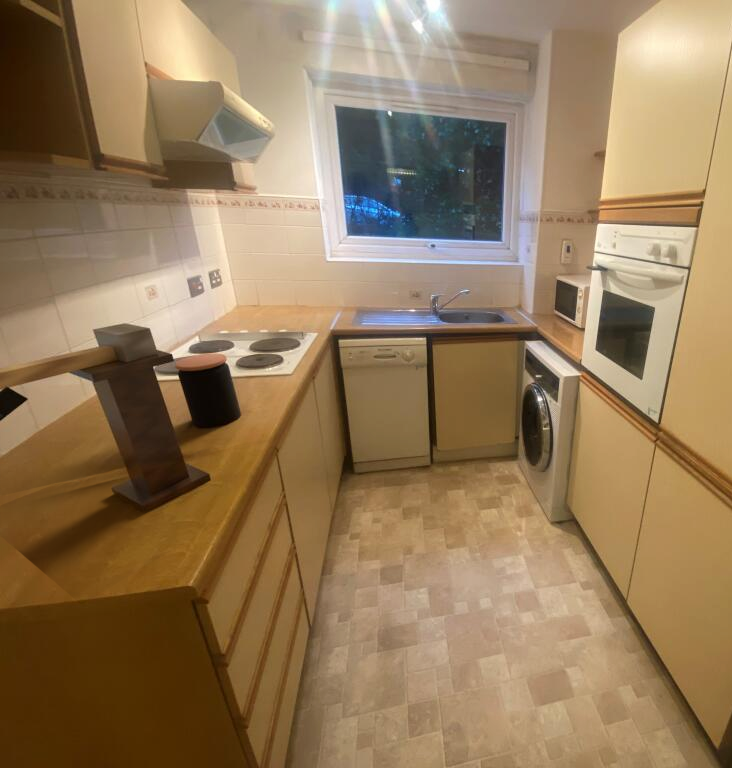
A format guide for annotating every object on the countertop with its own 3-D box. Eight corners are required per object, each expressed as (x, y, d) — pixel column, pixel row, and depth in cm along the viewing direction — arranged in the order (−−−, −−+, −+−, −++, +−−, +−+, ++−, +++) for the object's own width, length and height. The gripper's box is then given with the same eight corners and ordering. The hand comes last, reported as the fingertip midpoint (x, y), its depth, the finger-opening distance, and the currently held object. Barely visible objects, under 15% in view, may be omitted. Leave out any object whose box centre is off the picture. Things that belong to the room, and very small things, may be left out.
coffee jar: (249, 413, 120) (233, 352, 113) (232, 432, 110) (214, 366, 103) (206, 416, 118) (188, 354, 111) (186, 435, 108) (165, 368, 102)
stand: (145, 512, 82) (91, 374, 71) (113, 494, 87) (58, 362, 76) (211, 479, 91) (172, 353, 81) (179, 464, 96) (138, 344, 86)
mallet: (-2, 395, 63) (-18, 363, 61) (-26, 386, 66) (-42, 355, 64) (158, 354, 80) (149, 328, 78) (133, 348, 83) (125, 323, 82)
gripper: (-194, 531, 47) (4, 383, 58) (-230, 469, 57) (-57, 354, 68) (-105, 554, 52) (60, 416, 63) (-153, 494, 63) (-4, 384, 74)
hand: (0, 383), depth 66 cm, fingers open, 13 cm apart
